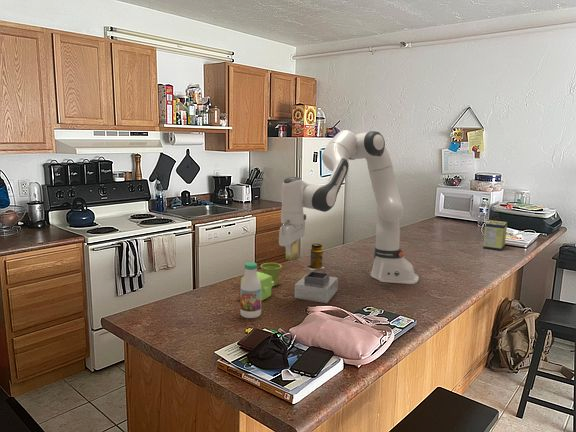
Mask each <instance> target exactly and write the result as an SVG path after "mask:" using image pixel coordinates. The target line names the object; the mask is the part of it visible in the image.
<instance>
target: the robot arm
mask: <svg viewBox="0 0 576 432" xmlns="http://www.w3.org/2000/svg"><path fill="white" fill-rule="evenodd" d="M362 159H365V161H366V165H367V170H368V174H369V178H370V179H369V180H370V183H371V187H372V191H373V193H374V198H375V202H376V221H375V222H376V224H375V226H376V227H375V228H376V231H375V233H376V234H375V246H374V249H373V258H374V259H373V265H372V270H371V271H370V276H371V277H372V279H375V280H378V281H379V282H381V283H389V284H390V283H391V284H404V285H405V284H406V285H416V284H417V283H418V282H419V279H420V278H419V275H418V274H417V273H415V269H414V266H413V264H412V263H410V261H408V260H407V259H406V258H405V257H404V249H401V248H400V240H401V239H400V238H401V227H400V220H401V218H402V217H403V216H404V205H403V201H402V198H401V195H400V191H399V187H398V184H397V180H396V177H395V176H396V175H395V171H394V168H393V163H392V159H391V156H390V153H389V152H388V149H387V147H386V141H385V138H384V136H383V135H382V133H380V132H379V131H374V130H372V131H371V130H370V131H367V132H361V133H357V134H355V133H354V132H353V131H351V130H347V129H343V130H341V131H338V133H336V135H335V136H333V137H332V138H331V140H329V142H328V144H327V145H326V147H325V148H324V150H323V151H322V154H321V160H322V163H323V164H324V166H325V167H326V169H328V170H329V171H331V174H330V176H329V178H328V179H327V182H326V183H325V184H321V185H319V184H318V185H315V184H311V183H310V184H309V183H307V182H306V181H303V179H302V178H301V177H300V176H292V177H287V178H284V179H283V182H282V183H281V191H280V194H281V195H280V201H281V210H280V223H281V224H282V225H281V226H280V228H279V230H278V231H279V232H278V244H279V246H280V247H285V254H286V253H287V254H289V255H290V254H291V253H292V249H291V244H292V243H293V242H295V241H298V243H299V242H300V239H301V238H302V237H304V236H305V234H306V233H305V230H306V221H307V220H306V219H307V214H306V213H304V208H306V209H312V210H316V211H320V212H323V213H324V212H325V213H326V212H329V210H331V209H332V208H333V207H334V206H335V203H336V201H337V197H338V195H339V192H340V190H341V187H342V185H343V183H344V181H345V179H346V177H347V174H348V172H349V165H350V164H349V160H350V161H355V160H362Z"/></svg>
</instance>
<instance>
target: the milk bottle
mask: <svg viewBox="0 0 576 432" xmlns="http://www.w3.org/2000/svg"><path fill="white" fill-rule="evenodd" d="M244 270H245V271H244V272H245V273H244V275H243V276H242V277H243V279H242V282H241V281H240V288H241V296H240V297H239V299H240V300H239V301H240V315H241V317H242V318H244V319H245V318H246V319H255V318H259V317H260V316H261V314H262V301H261V283H260V280H259V278H258V275H257V272H258V271H257V270H258V263H256V262H251V261H249V262H246V263H244Z"/></svg>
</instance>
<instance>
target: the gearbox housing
mask: <svg viewBox="0 0 576 432" xmlns="http://www.w3.org/2000/svg"><path fill="white" fill-rule="evenodd" d="M338 284H339V277H336V276H330V273H326V272H319V271H314V270H310V271H309V272H308V273H306V274H305V275H304V276H303V277H302V278H301V279H299V280H298V281H297V282H295V284H294V299H299V300H305V301H309V302H310V301H311V302H317V303H324V304H328V303H329V301H330V300H331V299H332V298H333V297H334V296H335V294H336V293H337V292H338V286H339V285H338Z"/></svg>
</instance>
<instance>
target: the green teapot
mask: <svg viewBox="0 0 576 432" xmlns="http://www.w3.org/2000/svg"><path fill="white" fill-rule="evenodd" d="M257 275H258V278H259V280H260V283H261V302H262V301H265V299H267V298H269V297H271V296H272V287H275V286H274V281H272V276H270V275H268V274H265V273H263V272H261V271H257ZM243 277H244V276H242V277H240V283H241V282H242V279H243ZM239 295H240V296H241V287H240V294H239Z"/></svg>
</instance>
